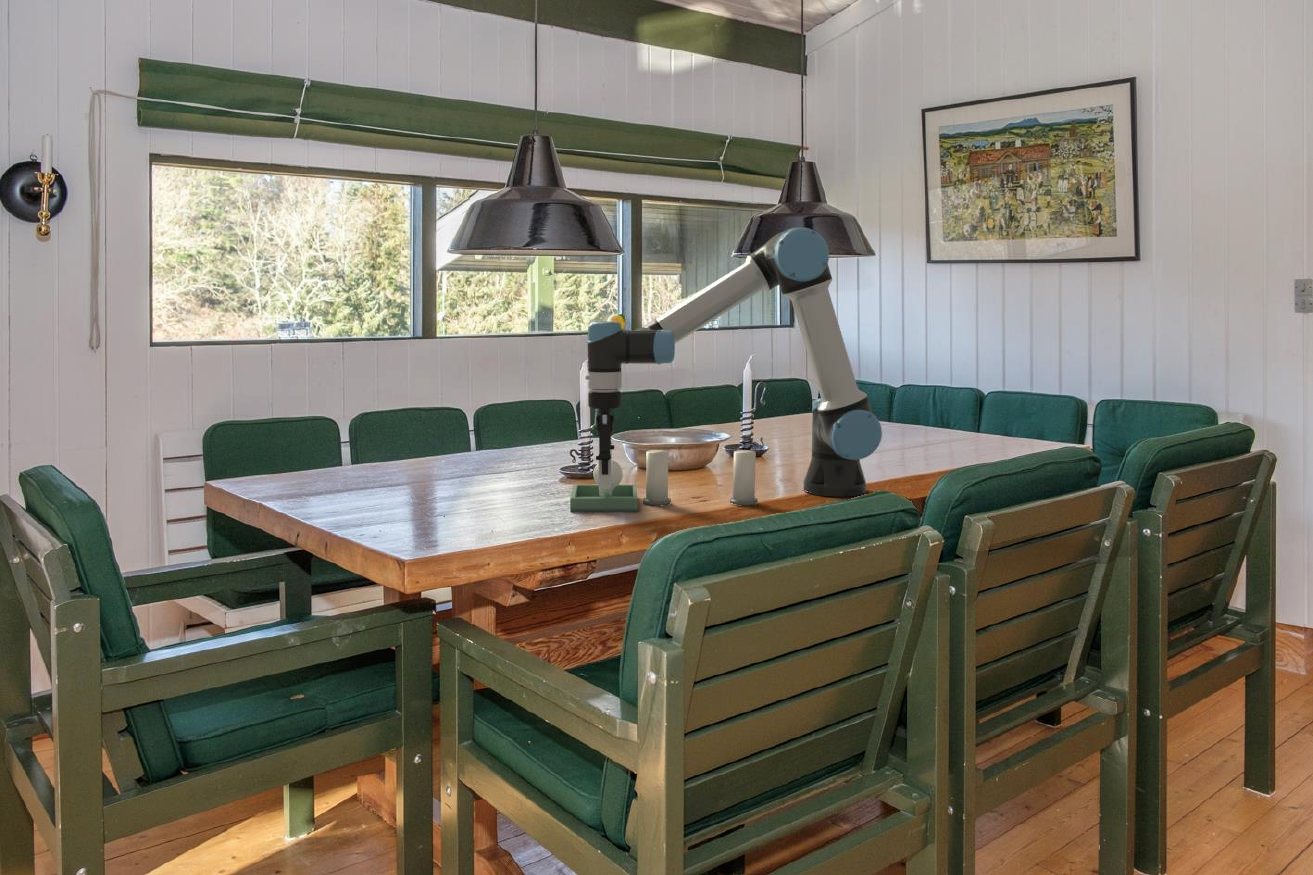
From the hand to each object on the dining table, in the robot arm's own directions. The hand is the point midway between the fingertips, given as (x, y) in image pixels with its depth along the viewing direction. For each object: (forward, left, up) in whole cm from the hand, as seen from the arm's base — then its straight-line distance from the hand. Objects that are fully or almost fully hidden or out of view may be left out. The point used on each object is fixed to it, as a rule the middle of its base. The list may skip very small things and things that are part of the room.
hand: (605, 483), depth 246 cm
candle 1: (-12, -1, -5) cm, 13 cm away
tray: (0, 0, -5) cm, 5 cm away
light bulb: (0, -2, -4) cm, 4 cm away
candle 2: (-32, -1, -5) cm, 32 cm away
